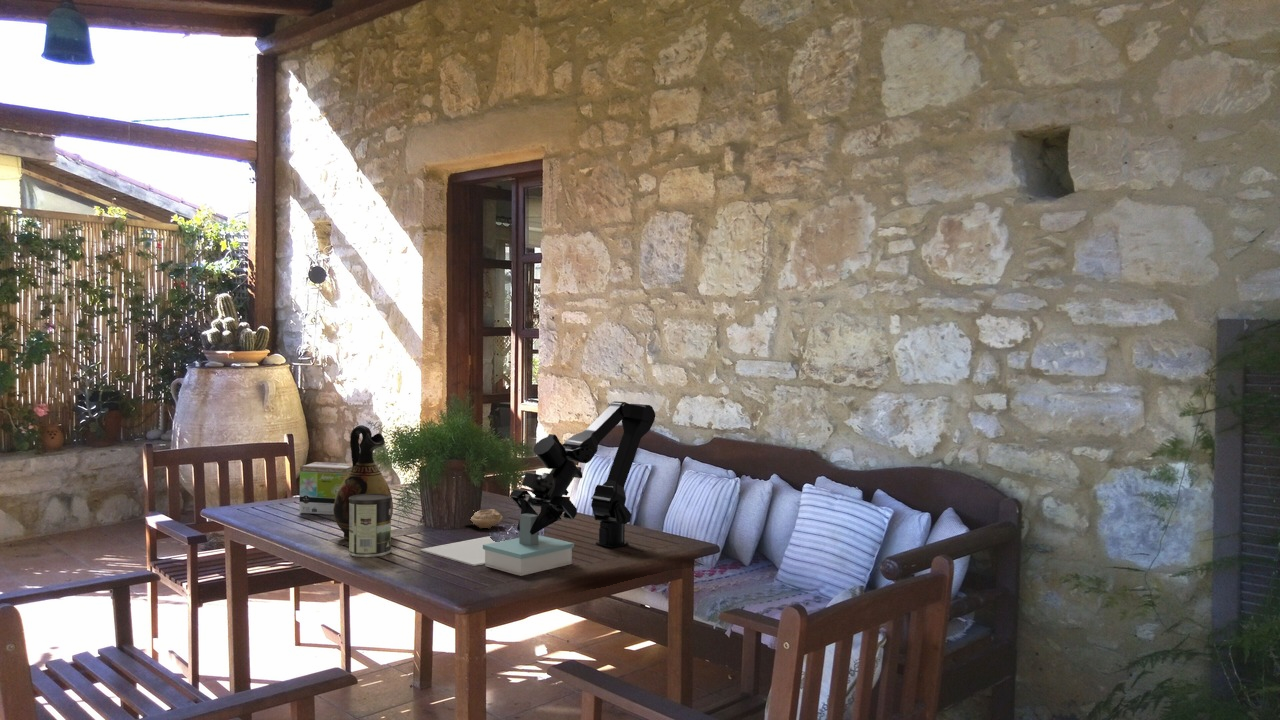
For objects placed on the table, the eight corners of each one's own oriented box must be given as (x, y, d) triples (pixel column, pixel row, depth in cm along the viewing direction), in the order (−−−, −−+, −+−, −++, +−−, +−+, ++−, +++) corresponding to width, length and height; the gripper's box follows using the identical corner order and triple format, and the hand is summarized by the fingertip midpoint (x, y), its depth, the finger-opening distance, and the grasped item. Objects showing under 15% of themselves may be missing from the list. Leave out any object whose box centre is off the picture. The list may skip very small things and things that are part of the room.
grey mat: (488, 537, 249) (488, 536, 249) (543, 551, 234) (543, 549, 234) (420, 550, 233) (420, 549, 233) (474, 566, 218) (474, 564, 218)
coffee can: (385, 546, 237) (385, 492, 237) (395, 555, 228) (396, 498, 228) (344, 550, 232) (344, 494, 232) (353, 559, 223) (353, 501, 223)
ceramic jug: (404, 537, 248) (405, 426, 247) (354, 546, 236) (355, 430, 235) (367, 528, 259) (368, 422, 258) (318, 537, 247) (319, 425, 246)
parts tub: (535, 554, 230) (535, 538, 230) (571, 563, 222) (571, 547, 222) (484, 565, 219) (485, 549, 218) (520, 575, 210) (521, 558, 210)
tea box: (298, 514, 278) (298, 465, 277) (314, 508, 288) (314, 461, 287) (345, 516, 276) (346, 467, 275) (360, 510, 286) (360, 462, 285)
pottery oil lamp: (471, 520, 270) (483, 499, 271) (498, 539, 263) (510, 518, 264) (452, 514, 263) (465, 492, 264) (479, 534, 256) (492, 512, 257)
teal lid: (535, 544, 231) (536, 506, 231) (574, 553, 222) (574, 514, 222) (482, 555, 218) (483, 515, 218) (520, 565, 209) (521, 524, 209)
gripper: (515, 456, 229) (480, 506, 220) (569, 463, 217) (534, 517, 208) (538, 484, 235) (505, 534, 227) (591, 493, 223) (558, 545, 215)
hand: (524, 532), depth 219 cm, fingers closed on teal lid, 4 cm apart
